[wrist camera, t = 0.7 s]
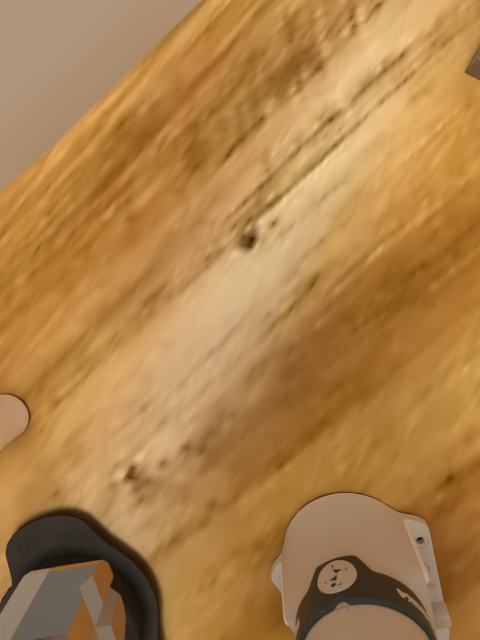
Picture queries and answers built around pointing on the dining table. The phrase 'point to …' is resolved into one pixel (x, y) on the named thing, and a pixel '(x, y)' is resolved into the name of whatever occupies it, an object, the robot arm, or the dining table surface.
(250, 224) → the dining table surface
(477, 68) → the panel
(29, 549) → the casserole
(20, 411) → the drinking glass
